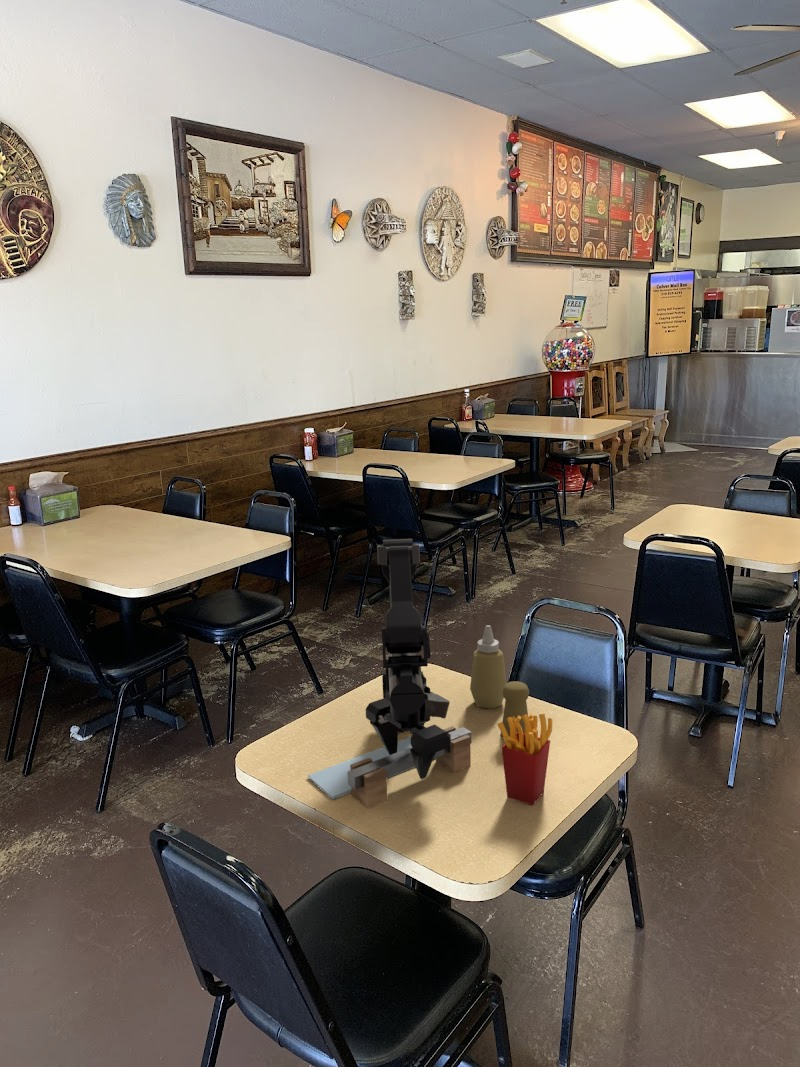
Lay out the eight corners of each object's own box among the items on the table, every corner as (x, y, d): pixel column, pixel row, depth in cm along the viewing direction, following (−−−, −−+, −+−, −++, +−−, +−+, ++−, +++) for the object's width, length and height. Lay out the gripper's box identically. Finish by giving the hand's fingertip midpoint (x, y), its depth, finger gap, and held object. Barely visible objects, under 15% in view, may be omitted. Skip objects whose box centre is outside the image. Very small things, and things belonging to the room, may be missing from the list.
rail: (355, 789, 137) (354, 777, 137) (348, 784, 139) (347, 771, 139) (471, 743, 152) (471, 731, 151) (463, 738, 153) (463, 727, 153)
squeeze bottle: (510, 697, 178) (510, 621, 174) (502, 713, 171) (502, 634, 166) (475, 693, 181) (474, 618, 176) (466, 709, 173) (465, 631, 169)
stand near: (351, 795, 142) (350, 764, 141) (370, 787, 144) (369, 757, 143) (368, 808, 138) (366, 777, 136) (387, 800, 140) (386, 770, 138)
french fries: (536, 809, 136) (537, 729, 132) (492, 796, 140) (491, 718, 137) (555, 784, 143) (556, 708, 140) (512, 773, 147) (513, 698, 144)
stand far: (436, 760, 152) (435, 732, 151) (452, 754, 155) (452, 726, 153) (454, 772, 148) (453, 743, 147) (470, 765, 150) (470, 736, 149)
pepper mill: (529, 727, 164) (530, 677, 162) (531, 741, 158) (532, 690, 156) (500, 726, 165) (500, 677, 162) (501, 741, 159) (500, 690, 156)
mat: (307, 778, 148) (307, 775, 148) (436, 729, 164) (436, 727, 164) (332, 799, 141) (332, 796, 141) (463, 747, 157) (463, 744, 157)
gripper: (474, 693, 138) (475, 774, 142) (411, 660, 153) (413, 734, 157) (423, 712, 132) (425, 796, 136) (362, 675, 147) (366, 752, 151)
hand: (408, 767), depth 145 cm, fingers open, 9 cm apart
